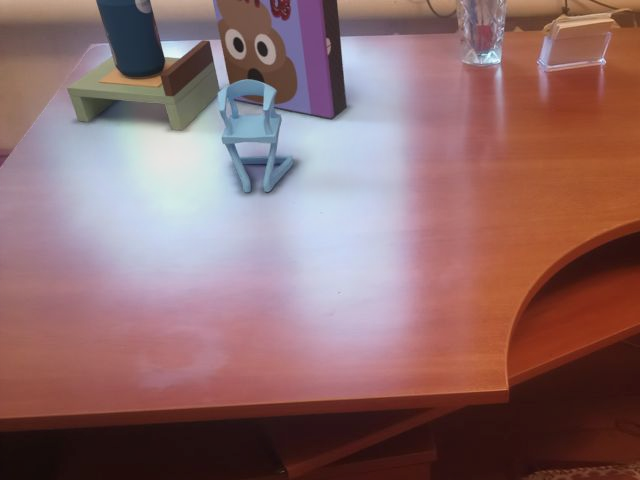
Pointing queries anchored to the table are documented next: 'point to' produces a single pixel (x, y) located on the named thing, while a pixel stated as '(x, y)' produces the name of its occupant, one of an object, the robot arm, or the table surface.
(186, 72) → the shelf
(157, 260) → the table surface
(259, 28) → the cereal box
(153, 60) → the soda can
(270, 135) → the chair
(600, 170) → the table surface
